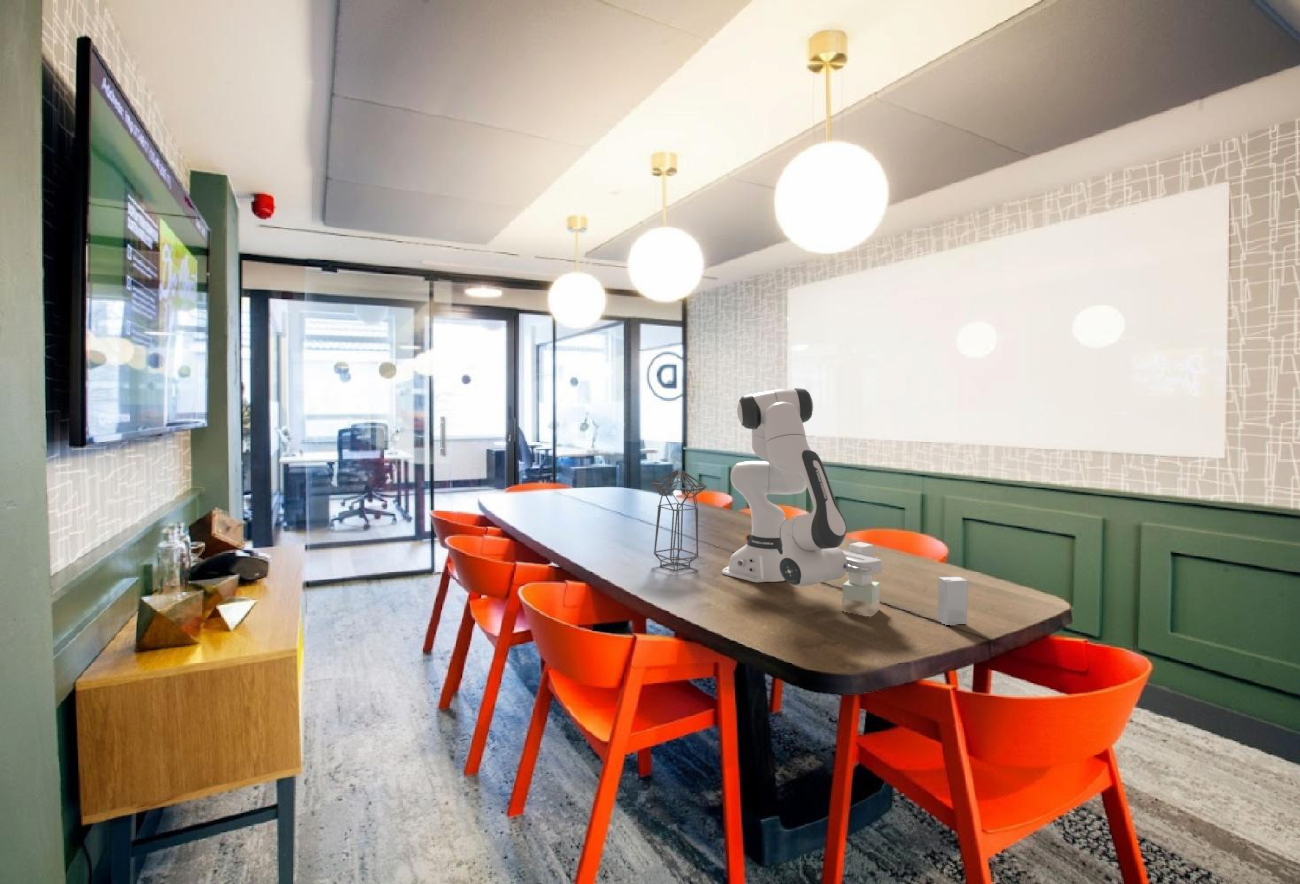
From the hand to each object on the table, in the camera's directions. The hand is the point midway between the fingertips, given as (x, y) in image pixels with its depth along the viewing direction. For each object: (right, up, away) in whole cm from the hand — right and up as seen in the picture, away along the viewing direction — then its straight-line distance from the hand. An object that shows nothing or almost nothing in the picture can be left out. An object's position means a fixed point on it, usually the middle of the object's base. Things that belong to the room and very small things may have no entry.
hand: (863, 556), depth 175 cm
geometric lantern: (-50, -13, +47) cm, 70 cm away
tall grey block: (-1, -7, 0) cm, 7 cm away
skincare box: (+20, -16, -10) cm, 28 cm away
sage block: (-1, -12, 0) cm, 12 cm away
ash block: (-1, -16, 0) cm, 16 cm away
